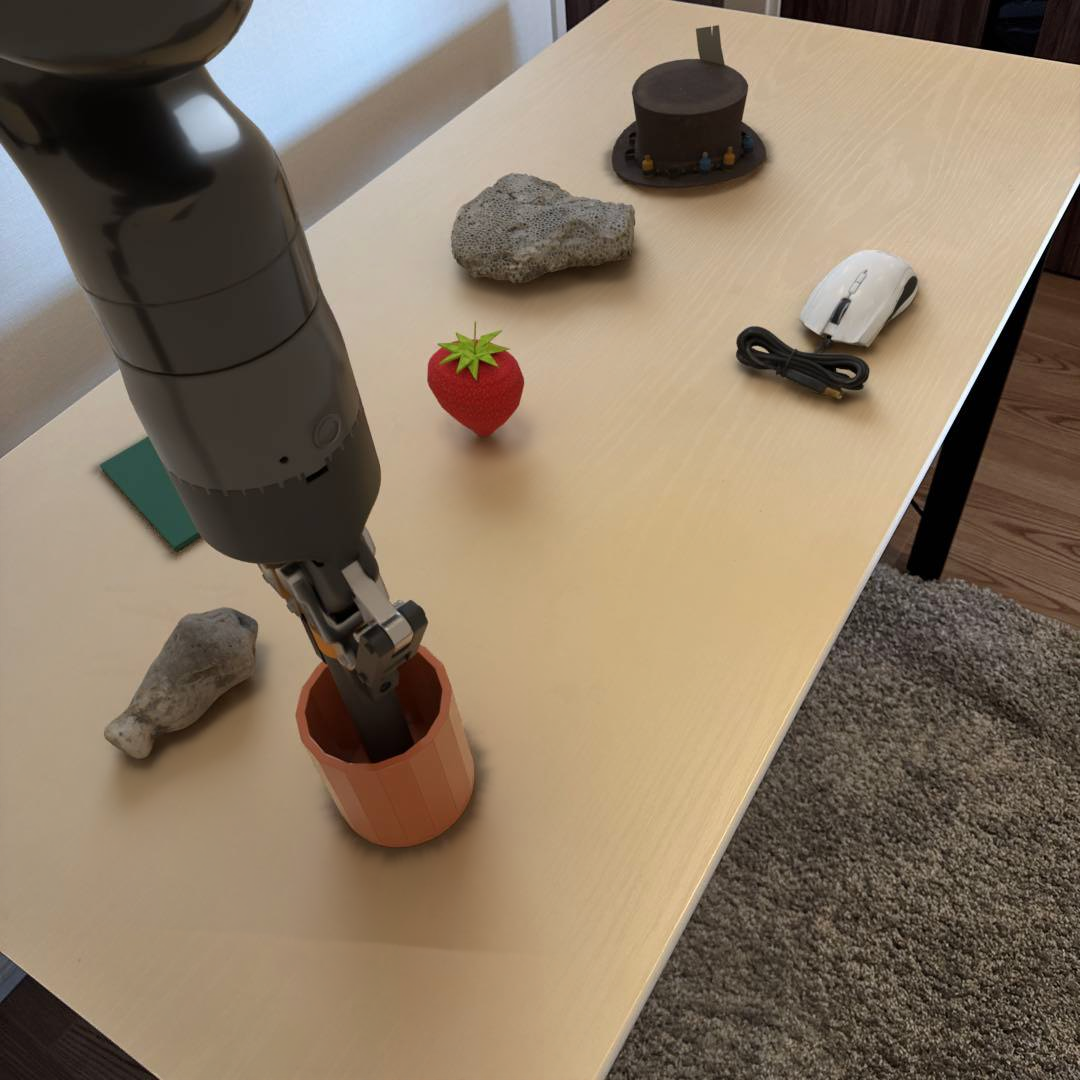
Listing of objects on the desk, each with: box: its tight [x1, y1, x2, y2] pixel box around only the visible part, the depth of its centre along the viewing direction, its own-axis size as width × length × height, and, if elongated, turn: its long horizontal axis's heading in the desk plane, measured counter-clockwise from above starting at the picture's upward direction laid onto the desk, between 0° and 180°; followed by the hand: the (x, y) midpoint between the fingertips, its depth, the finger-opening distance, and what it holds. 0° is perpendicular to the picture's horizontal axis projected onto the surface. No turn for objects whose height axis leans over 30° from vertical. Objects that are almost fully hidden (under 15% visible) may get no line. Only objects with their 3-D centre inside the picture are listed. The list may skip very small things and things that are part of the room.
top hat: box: [611, 24, 767, 190], centre depth 96 cm, size 15×15×10 cm
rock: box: [450, 172, 636, 284], centre depth 90 cm, size 15×16×5 cm
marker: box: [307, 621, 415, 763], centre depth 52 cm, size 3×3×14 cm
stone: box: [103, 606, 259, 759], centre depth 62 cm, size 10×5×8 cm
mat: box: [99, 436, 201, 552], centre depth 78 cm, size 12×12×1 cm
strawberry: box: [426, 320, 525, 437], centre depth 74 cm, size 6×8×10 cm
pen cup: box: [295, 644, 475, 848], centre depth 56 cm, size 8×8×9 cm
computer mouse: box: [735, 249, 919, 400], centre depth 80 cm, size 10×18×4 cm, turn 144°
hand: (359, 669), depth 50 cm, fingers closed on marker, 2 cm apart
